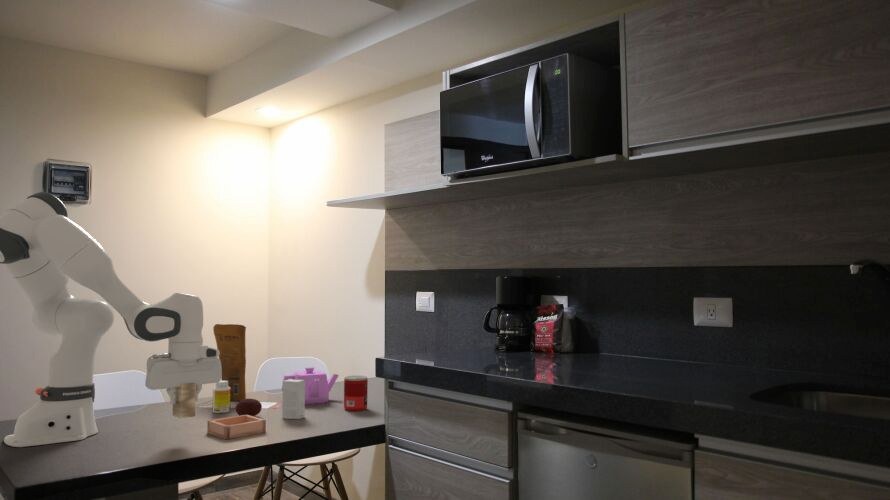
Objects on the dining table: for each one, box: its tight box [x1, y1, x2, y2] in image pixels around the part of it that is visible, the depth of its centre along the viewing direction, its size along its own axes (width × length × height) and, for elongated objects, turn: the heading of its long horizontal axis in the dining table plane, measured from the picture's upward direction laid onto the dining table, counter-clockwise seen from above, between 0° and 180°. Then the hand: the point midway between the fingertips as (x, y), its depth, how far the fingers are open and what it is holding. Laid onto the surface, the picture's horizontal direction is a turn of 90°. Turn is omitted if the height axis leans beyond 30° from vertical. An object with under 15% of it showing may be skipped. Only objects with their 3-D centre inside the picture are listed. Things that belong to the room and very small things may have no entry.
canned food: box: [343, 375, 369, 412], centre depth 223 cm, size 8×8×11 cm
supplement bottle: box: [212, 380, 231, 414], centre depth 218 cm, size 6×6×10 cm
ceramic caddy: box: [206, 415, 267, 440], centre depth 188 cm, size 12×11×4 cm
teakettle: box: [281, 366, 339, 405], centre depth 239 cm, size 17×17×12 cm
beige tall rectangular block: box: [172, 383, 196, 419], centre depth 178 cm, size 4×5×9 cm
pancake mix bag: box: [212, 323, 247, 402], centre depth 242 cm, size 7×19×28 cm, turn 48°
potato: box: [234, 398, 263, 417], centre depth 209 cm, size 7×8×6 cm
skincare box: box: [281, 379, 306, 420], centre depth 209 cm, size 6×4×12 cm
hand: (184, 402), depth 178 cm, fingers closed on beige tall rectangular block, 4 cm apart
